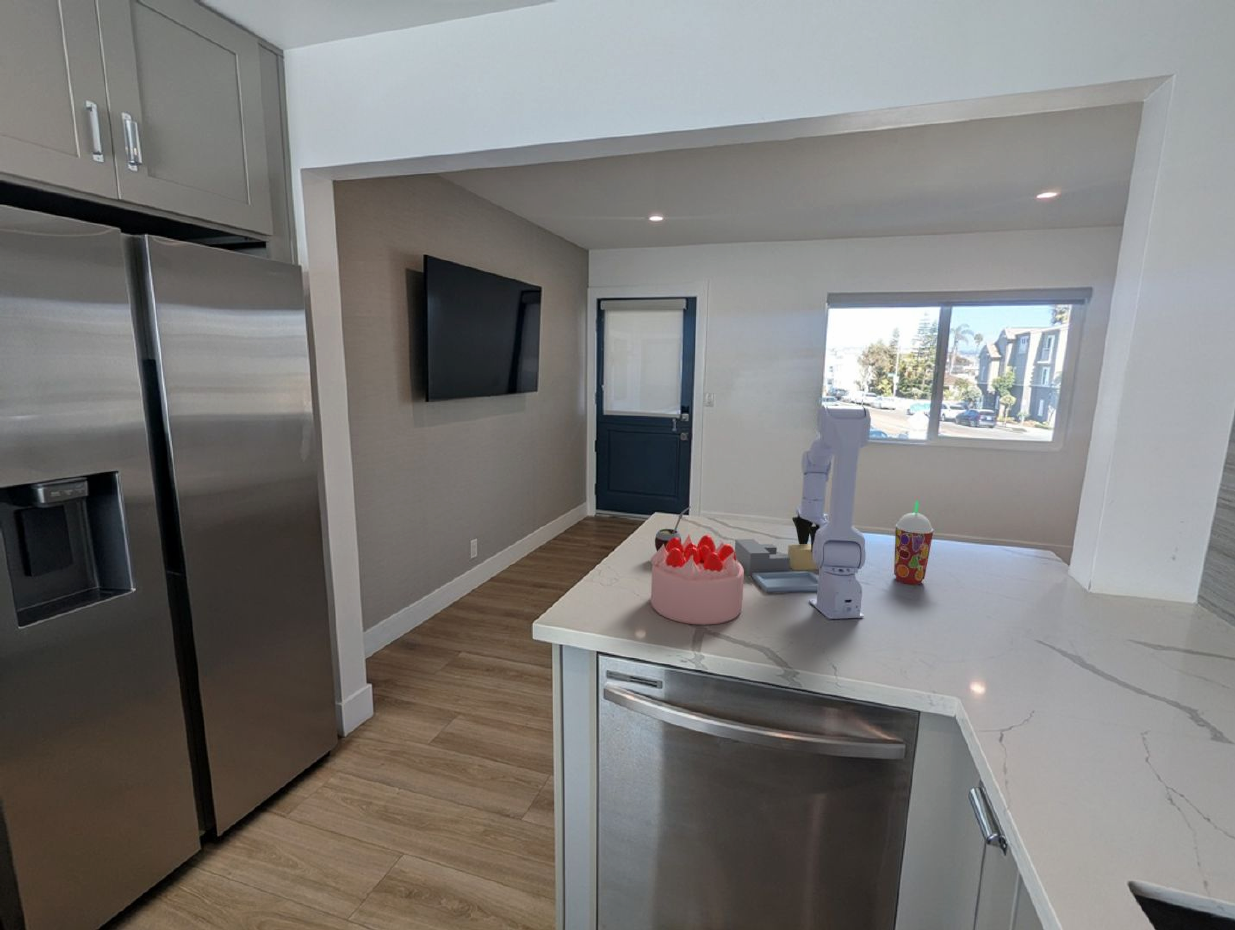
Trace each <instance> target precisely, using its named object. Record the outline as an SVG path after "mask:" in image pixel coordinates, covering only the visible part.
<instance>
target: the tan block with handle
mask: <svg viewBox="0 0 1235 930" xmlns="http://www.w3.org/2000/svg"><path fill="white" fill-rule="evenodd" d="M787 549H788V550H787V556H788V557H790V568H791V569H792V570H794V571H798V570H799V571H803V570H804V571H809V570H819V567H817V566H816V565H815V564H814V562H813V556H812V551H811V543H810V544H809V543H807V544H801V545H800V544H788V547H787Z"/></svg>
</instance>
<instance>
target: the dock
mask: <svg viewBox="0 0 1235 930" xmlns="http://www.w3.org/2000/svg"><path fill="white" fill-rule="evenodd" d="M777 549H778V547H777V546H776V545H774V544H773V543H767V544H766V543H765V544H764V543H762V544H761V543H759V542H758V541H756V540H755V539H754V538H749V539H748V538H746V539H745V538H743V539H740V538H739V539H738V538H737V539H735V542H734V552H735V554H736V557H737V560H738V562H739V563H740V564H741V565H742V567H743V569H744V574H745V573H746V575H747V576H748V577H753V573H771V572H790V568H791V567H790V557H788V554H786V553H780V554H779V553H778V552H777V551H778V550H777Z"/></svg>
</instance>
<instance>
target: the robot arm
mask: <svg viewBox="0 0 1235 930" xmlns="http://www.w3.org/2000/svg"><path fill="white" fill-rule="evenodd" d="M871 418H872V417H871V413H870V409H868V407H867V406H865V405H864V406H863V405H862V406H849V405H848V406H843V405H842V406H841V405H840V406H839V405H837V406H836V405H826V404H824V405H821V406H820V407H819V409H818V411H817V415H816V428H817V432H818V434H819V436H817V437H815V438H814V440H813V441H812V444H811V445H810V448H809V450H803V453H802V456H801V470H802V474H803V478H802V491H801V502H800V503H801V504H800V505H801V506H800V507H796V510H795V511H796V513H795V515H796V516H793V517H792V522H793V524H794V526H795V530H796V534H797V541H798V545H807V544H809V540H810V544H811V551H812V556H813V562H814V564H815V565H816V566H817V567H819V569H818V577H819V578H818V590H817V593H816V598H809V599H808V602H809V604H811V605H812V606H814V608H816V609H817V610H818V611H819V612H820V613H821V614H823V616H825V617H826V618H827V619H829V620H837V619H839V620H841V619H856V618H857V619H859V618H860V619H861V618H865V615H864V614H863V613H862V612H861V608H862V599H863V597H862V596H863V588H862V585H861V584H860V582H859V581H858V580H857V578H856V574H858V573H859V570H861V569H862V568H863V567H864V565H865V563H866V559H867V558H866V556H867V554H866V545H865V544H866V539H865V537H864V535H863V533H862V532H861V530H859V529H857V528H856V527H855V526H854V525H853V519H854V518H853V517H854V508H855V498H856V497H855V496H856V484H857V476H858V463H859V456H860V451H861V449H862V448H864V447H866V446H868V444H869V440H870V434H871V433H870V432H871V424H872V423H871V422H872V419H871ZM832 459H833V462H832ZM832 463H833V466H832ZM831 468H832V477H831V489H830V500H829V510H828V511H829V514H827V513H825V503H826V493H827V492H826V491H827V482H829V478H830V477H829V476H830V473H831ZM814 525H815V526H814Z"/></svg>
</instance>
